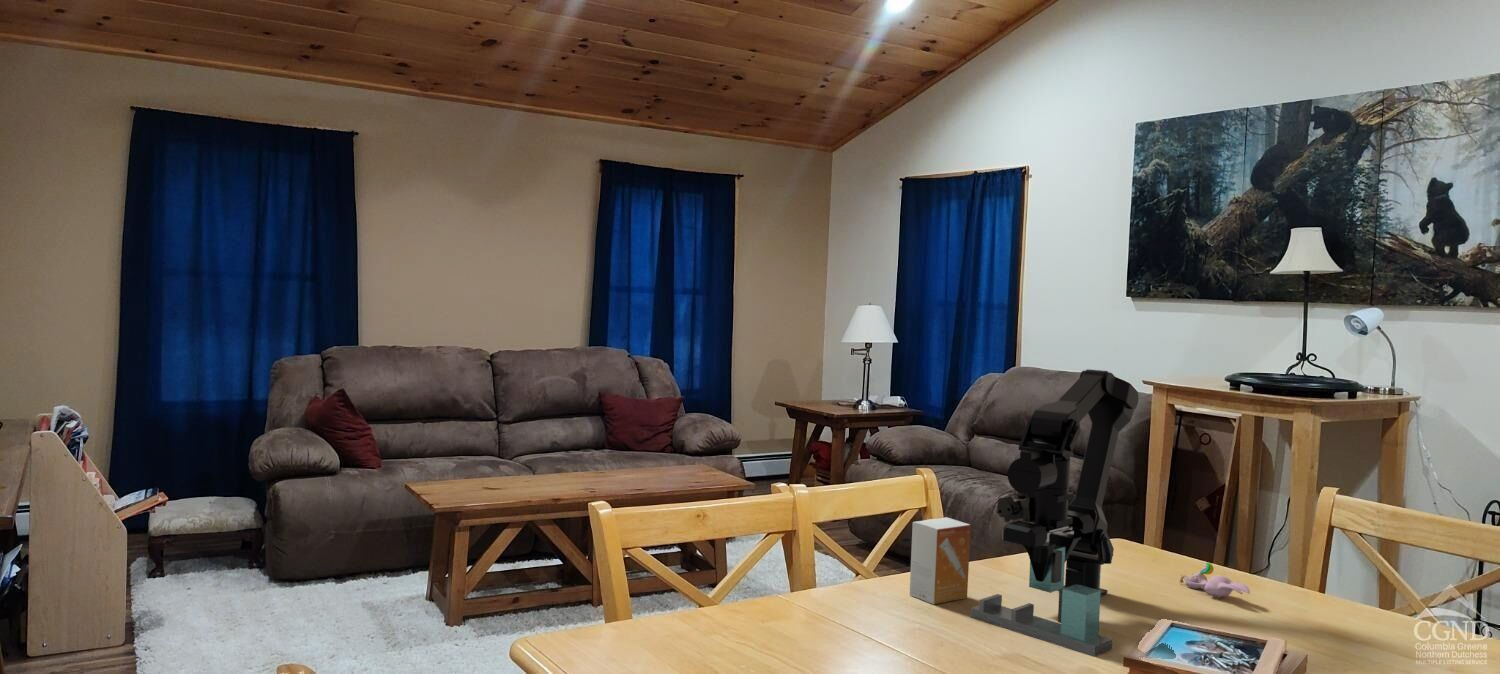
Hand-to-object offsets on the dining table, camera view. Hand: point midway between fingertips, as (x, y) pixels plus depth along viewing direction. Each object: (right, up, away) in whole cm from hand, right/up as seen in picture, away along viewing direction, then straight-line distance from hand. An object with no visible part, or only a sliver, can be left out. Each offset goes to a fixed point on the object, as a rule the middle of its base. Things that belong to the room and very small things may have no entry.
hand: (1046, 578), depth 169 cm
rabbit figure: (+34, -6, +13) cm, 36 cm away
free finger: (0, -2, 0) cm, 2 cm away
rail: (-4, -6, -10) cm, 12 cm away
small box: (-17, -5, +7) cm, 19 cm away
